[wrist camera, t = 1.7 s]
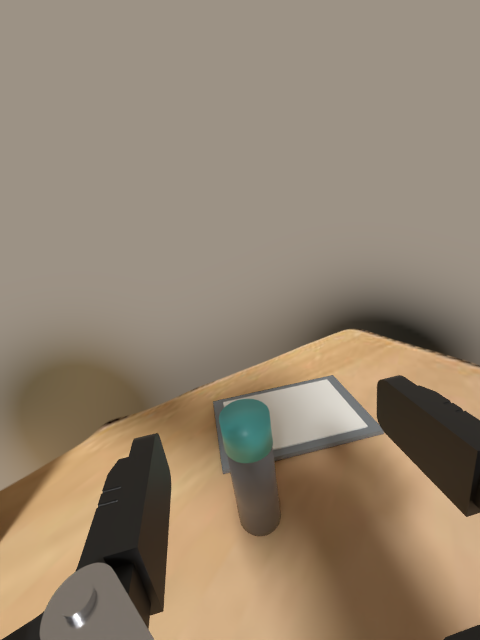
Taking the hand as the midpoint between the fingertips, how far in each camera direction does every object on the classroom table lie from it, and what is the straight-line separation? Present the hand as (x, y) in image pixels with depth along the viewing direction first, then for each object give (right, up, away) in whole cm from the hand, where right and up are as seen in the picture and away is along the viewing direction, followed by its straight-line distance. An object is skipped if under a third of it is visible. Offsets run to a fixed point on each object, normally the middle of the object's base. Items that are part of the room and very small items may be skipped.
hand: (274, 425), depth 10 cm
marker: (+1, -15, +17) cm, 23 cm away
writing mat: (+6, -10, +29) cm, 31 cm away
